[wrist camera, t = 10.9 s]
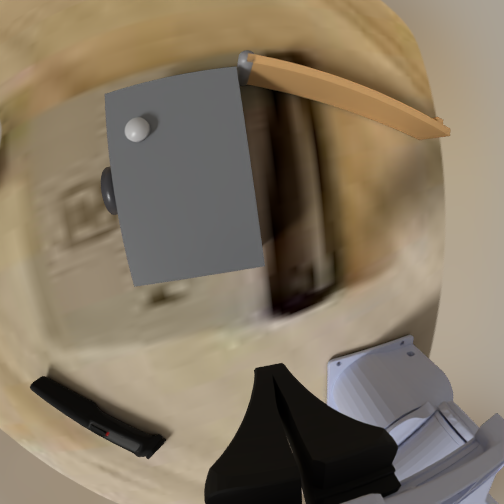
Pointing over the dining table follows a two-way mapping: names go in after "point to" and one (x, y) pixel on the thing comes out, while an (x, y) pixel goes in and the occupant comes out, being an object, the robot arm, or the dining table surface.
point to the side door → (336, 94)
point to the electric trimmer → (96, 418)
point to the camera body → (182, 177)
